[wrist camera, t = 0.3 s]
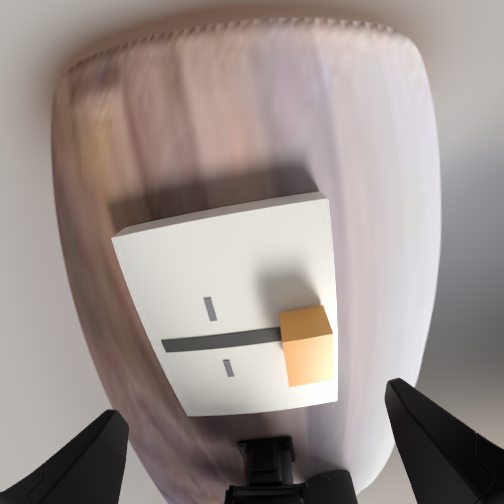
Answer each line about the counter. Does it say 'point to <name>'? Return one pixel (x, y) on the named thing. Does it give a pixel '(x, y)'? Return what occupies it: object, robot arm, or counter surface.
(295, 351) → the fader knob
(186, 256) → the fader console
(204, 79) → the counter surface
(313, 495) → the travel mug
